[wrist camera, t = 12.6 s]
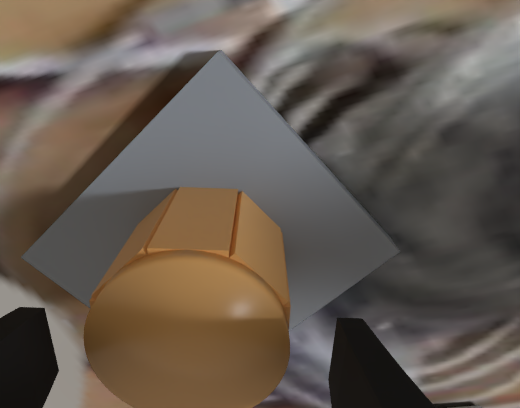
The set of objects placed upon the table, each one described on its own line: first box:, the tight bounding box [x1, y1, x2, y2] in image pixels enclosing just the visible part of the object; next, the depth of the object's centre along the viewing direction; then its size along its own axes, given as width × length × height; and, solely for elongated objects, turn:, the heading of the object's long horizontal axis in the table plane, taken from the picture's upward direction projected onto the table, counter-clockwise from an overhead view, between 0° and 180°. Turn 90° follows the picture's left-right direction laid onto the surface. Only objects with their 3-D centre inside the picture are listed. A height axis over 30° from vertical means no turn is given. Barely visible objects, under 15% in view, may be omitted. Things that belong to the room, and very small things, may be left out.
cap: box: [84, 187, 291, 408], centre depth 12 cm, size 5×5×5 cm
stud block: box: [21, 50, 400, 331], centre depth 13 cm, size 10×9×4 cm
